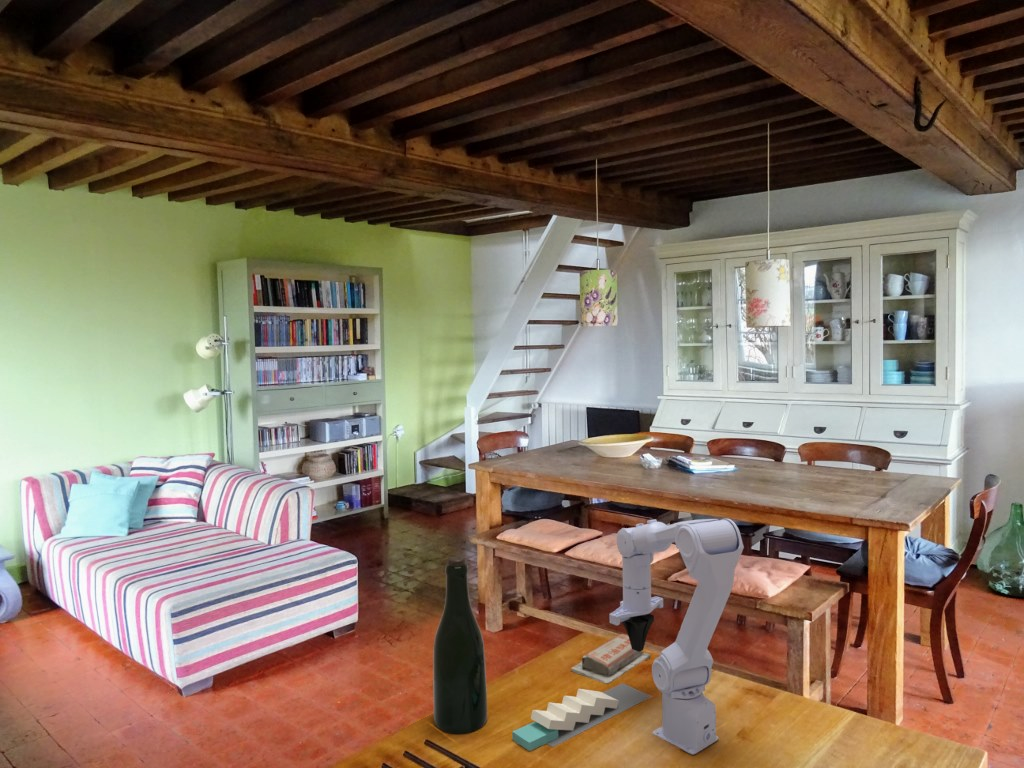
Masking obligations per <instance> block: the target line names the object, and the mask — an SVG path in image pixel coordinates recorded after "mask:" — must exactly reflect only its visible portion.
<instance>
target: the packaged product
mask: <svg viewBox="0 0 1024 768" xmlns="http://www.w3.org/2000/svg"><path fill="white" fill-rule="evenodd" d="M651 656H652V655H651V653H650V654H649V653H648V652H644V651H640V652H638V651H636V650H633V649H632V647H631V643H630V640H629V636H628V634H625V633H619V634H618V635H616V636H614V637H612V638H610V639H608V640H607V641H606V642H604V643H603V644H602V643H601V644H600V645H599V646H597V647H596V648H594V649H593V650H590V651H588V652H587V653H586V654H584V655H583V656H582V657H581V661H580V662H579V663H577V664H576V665H574V666H572V667H571V668H570V669H571V672H573V673H575V674H577V675H580V676H584V677H586V678H588V679H591V680H594V681H598V682H601V683H603V684H606V685H609V684H611V683H612V682H614V681H615V680H617V679H618V678H620V677H621V676H623V675H624V674H625V673H627V672H628V671H630V670H632V669H633V668H635V667H636V666H638V665H639V664H641V663H642V662H644V661H647V660H649V658H651Z"/></svg>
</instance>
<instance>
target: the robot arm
mask: <svg viewBox="0 0 1024 768" xmlns="http://www.w3.org/2000/svg"><path fill="white" fill-rule="evenodd" d="M673 543H675V547H676V549H678V551H679V553H680V557H681V559H682V561H683V564H684V565H685V567H686V570H687V572H688V575H689V577H690V578H691V579H693V580H695V581H697V585H696V587H695V589H694V592H693V595H692V598H691V600H690V602H689V606H688V608H687V610H686V614H685V616H684V618H683V621H682V623H681V626H680V629H679V631H678V633H677V636H676V639H675V641H674V642H673V643H671V644H670V645H669V646H667V647H666V648H664V649H662V650H661V651H660V654H659V655H658V657H656V658H655V659H654V660H653V663H652V665H651V676H652V680H653V683H654V685H655V686H656V688H657V689H658V691H660V692H661V700H662V701H661V703H662V704H661V705H662V706H661V717H662V719H661V721H662V722H661V723H662V724H661V725H662V726H661V727H658V728H656V729H655V730H653V731H652V735H653V736H656V737H658V738H659V739H661V740H664V741H666V742H668V743H669V744H672V745H673V746H675V747H677V748H679V749H681V751H684V752H685V753H688V754H690V755H692V756H694V755H696V754H698V753H699V752H700V751H703V750H704V749H705V748H707V747H709V746H710V745H712V744H713V743H715V742H717V741H719V736H718V735H717V710H716V705H715V703H714V701H712V700H710V699H709V698H708V697H706V696H705V694H704V693H703V692H705V691H706V685H708V684H709V683H710V682H711V679H712V667H713V664H714V659H713V657H712V654H711V652H710V651H709V649H708V647H709V645H710V642H711V640H712V638H713V635H714V632H715V630H716V628H717V625H718V623H719V621H720V618H721V617H722V614H723V611H724V609H725V607H726V604H727V602H728V600H729V597H730V594H731V592H732V589H733V586H734V579H735V571H736V567H737V564H738V563H739V560H740V557H741V555H742V553H743V550H744V549H745V546H744V542H743V539H742V535H741V532H740V529H739V527H738V526H737V524H736V523H735V522H734V520H732V519H730V518H722V519H720V520H719V518H705V519H704V518H702V519H690V520H684V521H679V522H675V523H672V524H669V525H667V524H666V523H664V522H662V521H658V520H657V519H649V520H647V521H646V524H644V523H642V522H641V523H636V524H635V526H634V527H628V528H627V527H626V528H625V527H622V528H621V529H619V530H618V531H617V533H616V545H617V549H618V552H619V554H620V555H621V556H622V559H621V560H622V561H621V562H622V600H621V601H619V605H620V606H619V607H618V608H616V609H615V610H614V611H612V612H610V613H609V624H612V625H614V626H619V625H620V624H621V623H622V625H623V627H624V629H625V630H626V631H625V632H626V633H627V635H628V636H629V640H630V643H631V647H632V649H633V650H636V651H638V652H640V651H641V652H643V651H644V649H645V644H646V640H647V637H648V634H649V631H650V628H651V626H652V624H653V623H654V622H655V616H654V615H653V614H650V613H652V612H653V611H654V610H656V609H662V608H664V598H663V597H660V596H653V597H652V572H651V571H652V569H651V568H652V567H651V566H652V563H653V561H654V554H657V553H661V552H665V551H667V550H668V549H670V547H671V546H672V544H673Z"/></svg>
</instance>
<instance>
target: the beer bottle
mask: <svg viewBox="0 0 1024 768" xmlns="http://www.w3.org/2000/svg"><path fill="white" fill-rule="evenodd" d="M465 559H466V558H465V557H464V556H459V555H456V556H451V557H448V559H447V564H446V565H445V569H444V571H445V585H446V586H445V599H444V600H445V601H444V605H443V606H444V608H443V611H442V613H441V617H440V621H439V623H438V626H437V629H436V632H435V636H434V641H433V652H432V653H433V655H432V657H433V658H432V662H433V663H432V664H433V666H432V667H433V668H432V673H433V674H432V675H433V676H432V678H433V680H432V681H433V685H432V687H433V689H432V690H433V692H432V693H433V719H434V724H435V726H436V728H438V729H439V730H440V731H442V732H444V733H448V734H452V735H464V734H465V735H466V734H470V733H472V732H475V731H478V730H480V729H481V728H482V727H483V726H484V725H485V724H486V722H487V720H488V699H487V698H488V696H487V695H488V694H487V692H488V691H487V677H486V676H487V675H486V672H487V671H486V670H487V669H486V654H485V644H484V643H485V642H484V639H483V634H482V631H481V628H480V625H479V624H478V621H477V618H476V616H475V613H474V611H473V608H472V605H471V604H472V603H471V599H470V593H469V579H468V577H469V575H468V573H469V567H468V563H466V560H465Z"/></svg>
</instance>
